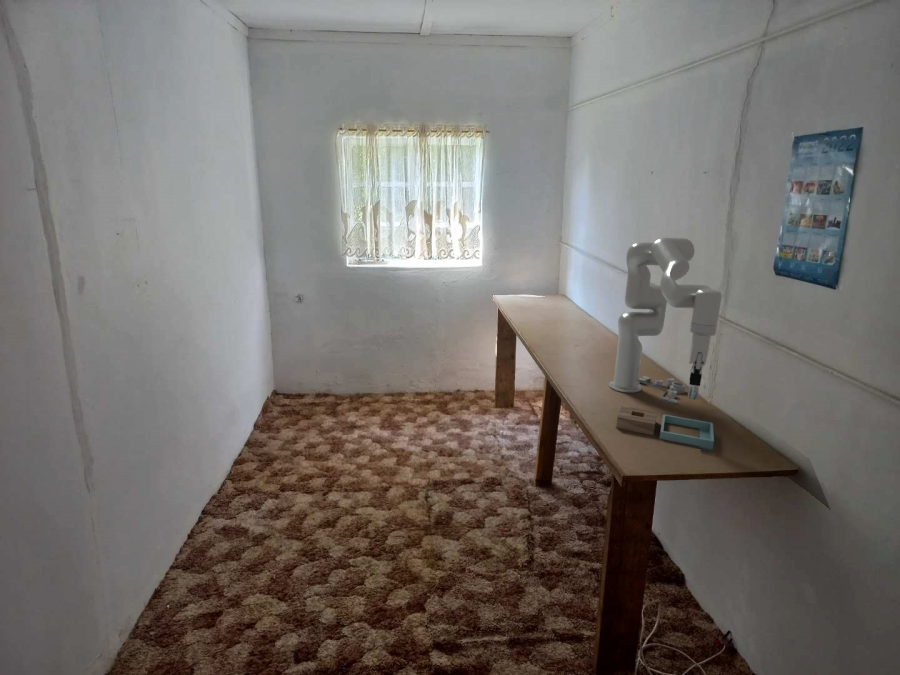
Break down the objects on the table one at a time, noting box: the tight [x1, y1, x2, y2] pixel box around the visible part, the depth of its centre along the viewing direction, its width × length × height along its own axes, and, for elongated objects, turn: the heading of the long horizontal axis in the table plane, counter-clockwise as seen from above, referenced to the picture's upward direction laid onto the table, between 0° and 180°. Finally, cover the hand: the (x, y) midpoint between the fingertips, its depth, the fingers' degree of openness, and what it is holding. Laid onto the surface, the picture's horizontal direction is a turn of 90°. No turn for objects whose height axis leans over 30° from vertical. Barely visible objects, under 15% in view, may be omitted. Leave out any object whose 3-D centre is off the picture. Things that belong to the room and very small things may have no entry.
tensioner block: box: [615, 404, 658, 436], centre depth 199 cm, size 12×12×5 cm
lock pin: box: [687, 364, 704, 400], centre depth 189 cm, size 3×3×11 cm
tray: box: [659, 414, 715, 452], centre depth 194 cm, size 16×16×4 cm
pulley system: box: [638, 375, 686, 405], centre depth 236 cm, size 27×5×15 cm
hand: (694, 382), depth 189 cm, fingers closed on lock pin, 3 cm apart
